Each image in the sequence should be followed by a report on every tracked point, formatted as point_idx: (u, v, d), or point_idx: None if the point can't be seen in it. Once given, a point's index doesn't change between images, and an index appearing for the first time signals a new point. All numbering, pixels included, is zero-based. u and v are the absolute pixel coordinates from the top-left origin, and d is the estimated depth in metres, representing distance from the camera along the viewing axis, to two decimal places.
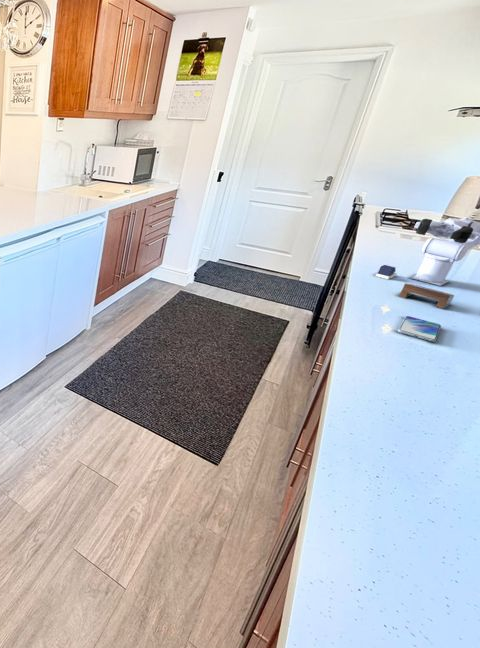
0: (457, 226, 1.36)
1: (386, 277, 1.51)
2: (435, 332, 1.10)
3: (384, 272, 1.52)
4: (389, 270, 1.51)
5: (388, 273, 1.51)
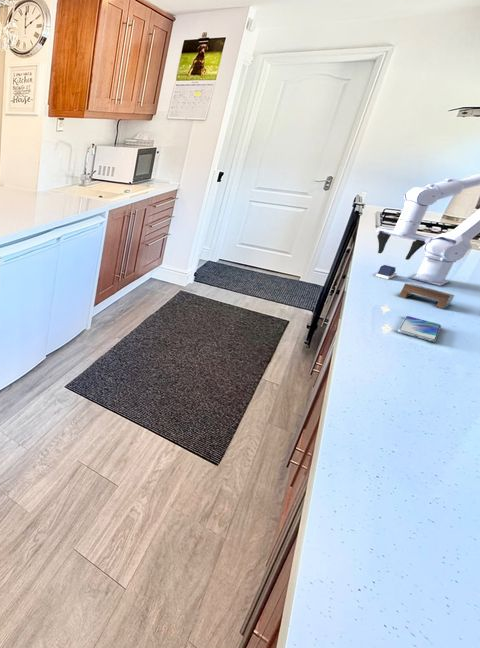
0: (409, 236, 1.45)
1: (386, 277, 1.51)
2: (435, 332, 1.10)
3: (384, 272, 1.52)
4: (389, 270, 1.51)
5: (388, 273, 1.51)
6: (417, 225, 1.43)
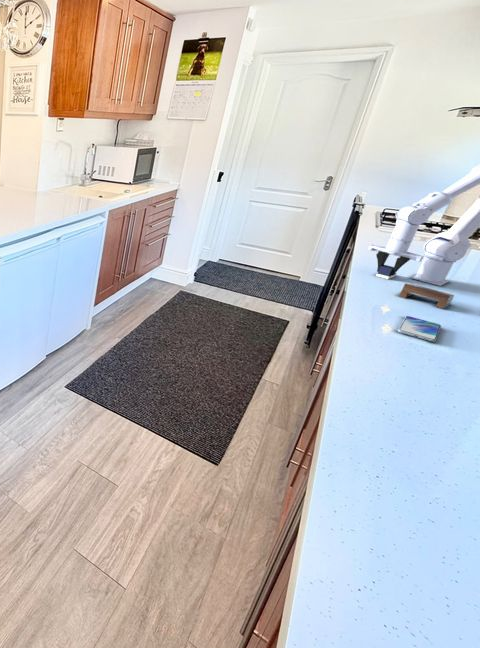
0: None
1: (386, 277, 1.51)
2: (435, 332, 1.10)
3: (384, 272, 1.52)
4: (389, 270, 1.51)
5: (388, 273, 1.51)
6: (408, 244, 1.46)
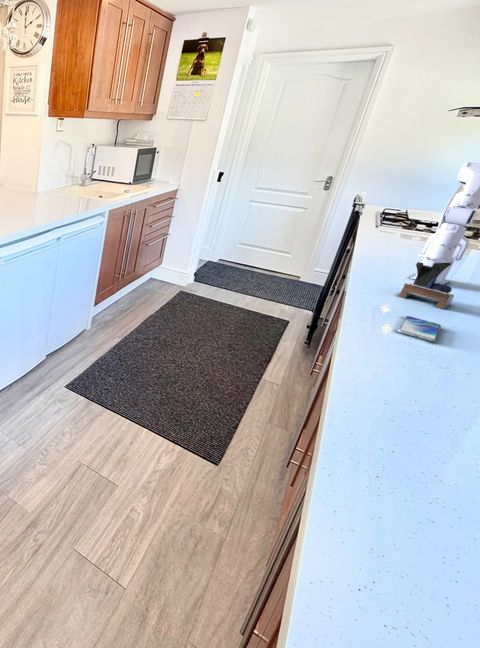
0: None
1: None
2: (435, 332, 1.10)
3: (415, 280, 1.35)
4: None
5: (414, 281, 1.34)
6: (435, 247, 1.28)
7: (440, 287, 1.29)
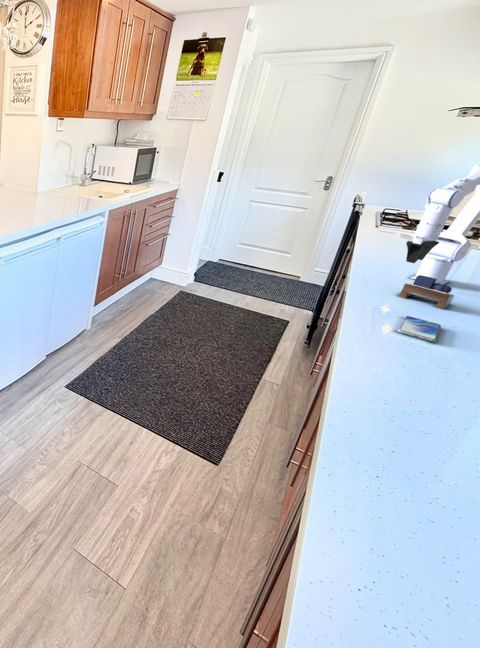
0: None
1: None
2: (435, 332, 1.10)
3: None
4: (416, 278, 1.34)
5: (414, 281, 1.34)
6: (424, 226, 1.38)
7: (440, 287, 1.29)
